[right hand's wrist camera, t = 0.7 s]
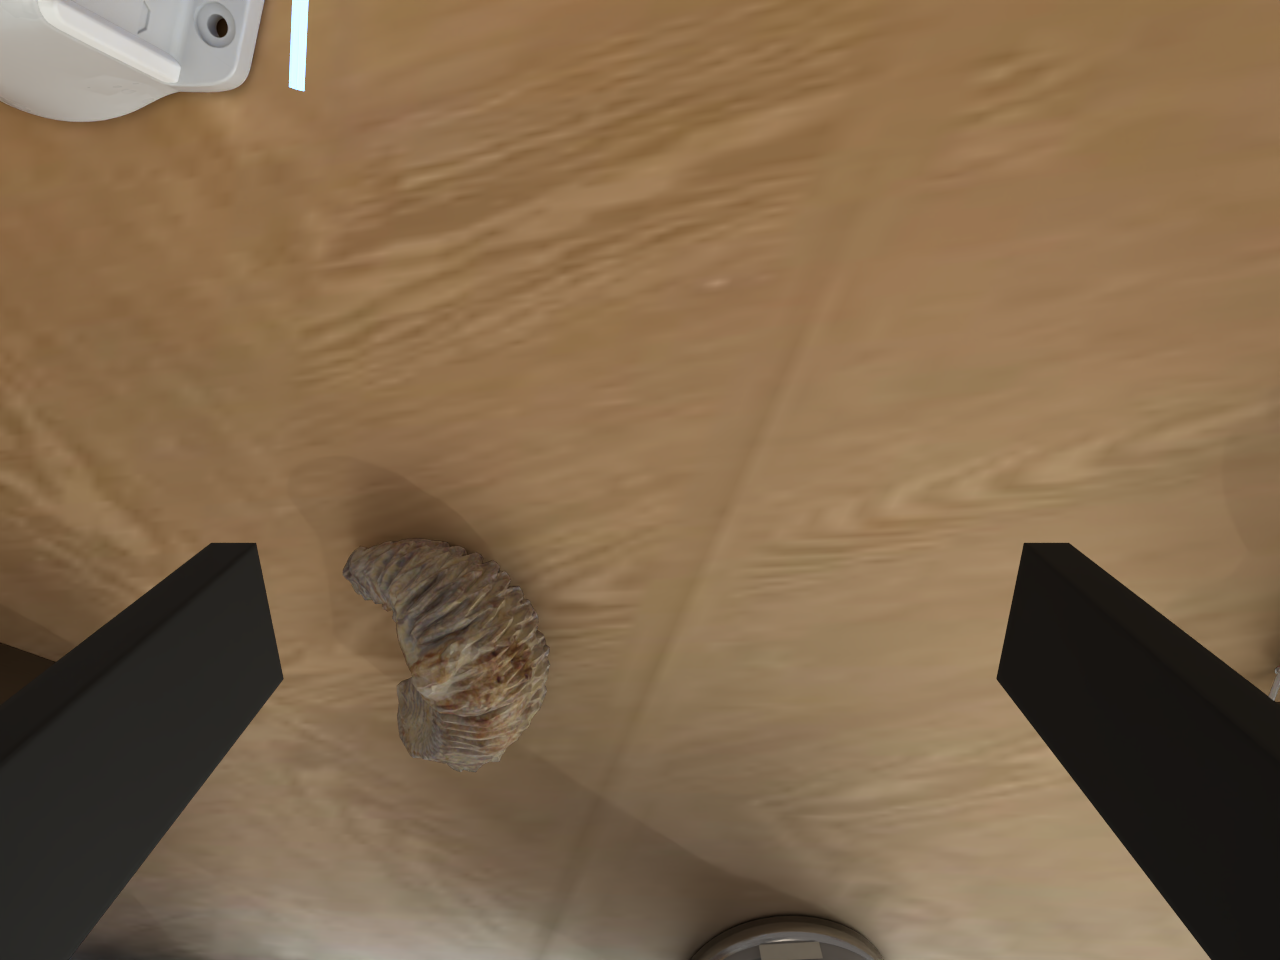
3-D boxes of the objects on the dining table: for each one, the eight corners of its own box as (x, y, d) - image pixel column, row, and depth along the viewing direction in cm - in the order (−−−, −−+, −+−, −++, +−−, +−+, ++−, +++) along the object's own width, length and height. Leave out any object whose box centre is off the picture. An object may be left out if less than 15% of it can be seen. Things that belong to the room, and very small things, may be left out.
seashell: (515, 689, 48) (564, 802, 40) (353, 723, 44) (370, 857, 36) (520, 504, 43) (579, 589, 35) (338, 522, 39) (354, 624, 30)
